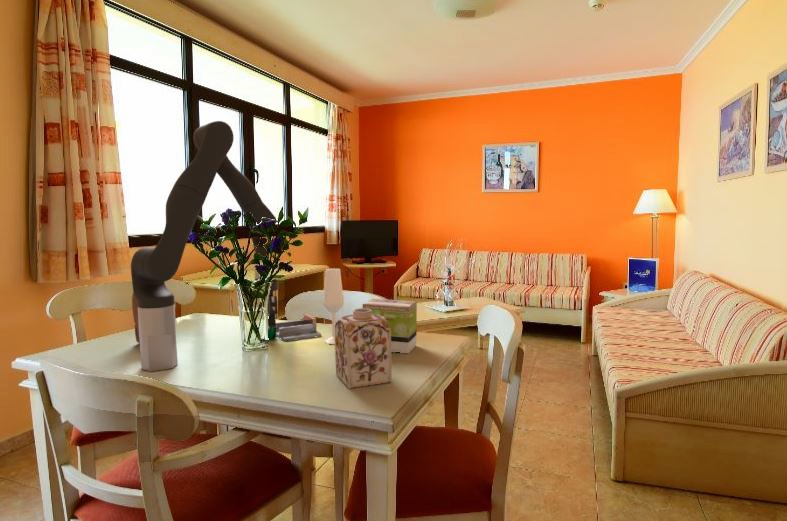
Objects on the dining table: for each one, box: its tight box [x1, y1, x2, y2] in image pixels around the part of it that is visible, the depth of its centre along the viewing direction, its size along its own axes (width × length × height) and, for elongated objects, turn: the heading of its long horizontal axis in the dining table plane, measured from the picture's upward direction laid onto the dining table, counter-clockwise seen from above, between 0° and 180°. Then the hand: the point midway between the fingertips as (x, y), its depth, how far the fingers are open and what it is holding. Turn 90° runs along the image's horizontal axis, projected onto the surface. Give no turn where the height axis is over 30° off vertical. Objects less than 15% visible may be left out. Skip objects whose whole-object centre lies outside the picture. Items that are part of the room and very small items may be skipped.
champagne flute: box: [322, 268, 345, 343], centre depth 162 cm, size 7×7×24 cm
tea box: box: [362, 298, 418, 354], centre depth 155 cm, size 15×10×15 cm
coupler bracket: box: [276, 313, 322, 342], centre depth 175 cm, size 18×13×5 cm
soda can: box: [268, 310, 277, 342], centre depth 167 cm, size 5×5×12 cm
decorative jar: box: [334, 307, 393, 389], centre depth 127 cm, size 12×12×18 cm
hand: (268, 324), depth 167 cm, fingers open, 8 cm apart
